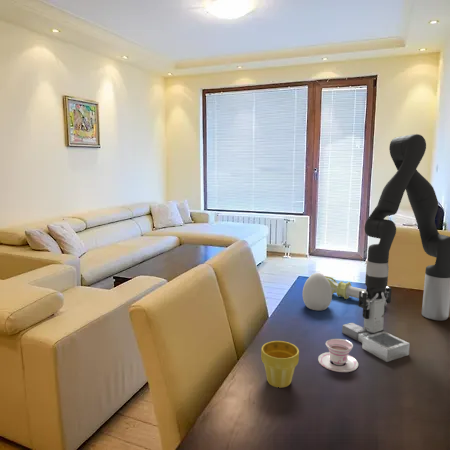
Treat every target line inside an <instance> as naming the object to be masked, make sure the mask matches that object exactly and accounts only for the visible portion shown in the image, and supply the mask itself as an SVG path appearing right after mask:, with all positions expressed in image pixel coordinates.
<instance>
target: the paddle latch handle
mask: <svg viewBox="0 0 450 450" xmlns="http://www.w3.org/2000/svg"><path fill="white" fill-rule="evenodd" d="M341 328H342V329H341V331H342V334H343V335H345V336H347V337H349V338H351V339H353V340H355V341H357V342H360V343H361V344H362V345H361V348H362V350H365V351H366V352H368V353H370V354H371V355H373V356H375V357H377V358H379V359H380V360H382V361H384V362H386V363H388V362H392V361H395V360H397V359H401V358H403V357H407V356H409V354H410V345H411V344H410V342H407V340H406V341H405V340H404V339H401V338H400V337H397V336H395V335H394V334H391V333H390V332H389V333H388V332H387V331H385V330H382V331H378V332H375V333H371V332H369V331H367V329H365V328H364V327H362V326H361V325H359V324H356V323H355V322H349V323H345V324H342V327H341Z"/></svg>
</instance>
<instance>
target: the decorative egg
mask: <svg viewBox="0 0 450 450" xmlns="http://www.w3.org/2000/svg"><path fill="white" fill-rule="evenodd" d="M325 276H326V275H324V274H322V273H321V272H314V273H313V274H310V276H309V277H308V278H307V279H306V281H305V282H304V284H303V288H302V301H303V303H304V305H305V307H307V309H310V310H311V311H326V310H327V309H328V307H330V305H331V303H332V300H333V299H332V298H333V294H332V289H331V285H330V283H329V281H328V279H327V278H326V277H325Z"/></svg>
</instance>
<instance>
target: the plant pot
mask: <svg viewBox="0 0 450 450" xmlns="http://www.w3.org/2000/svg"><path fill="white" fill-rule="evenodd" d="M260 355H261V356H260V359H261V361H262V364H264V365H263V366H264V369H265V370H264V371H265V375H266V380H267V383H268V384H269V385H270V386H272V387H274V388H278V387H279V388H280V389H281V388H287V387H289V386H290V385H291V383H292V381H293V377H294V373H295V370H296V369H295V368H296V367H297V366H298V364H299V361H300V350H299V347H298V346H296V344H293V343H291V342H288V341H286V340H285V341H283V340H272V341H268V342H266V343H264V344H263V345H262V346H261V352H260Z"/></svg>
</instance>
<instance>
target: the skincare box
mask: <svg viewBox="0 0 450 450" xmlns="http://www.w3.org/2000/svg"><path fill="white" fill-rule="evenodd" d="M367 300H369V301H371V299H369V298H367ZM384 304H385V301H383V299H382V298H381V299H376V300H375V301H374V303H373V304H372V305H371V306H370V308H369V309H370V312H369V319H365V318H364V319H363V320H364V321H363V328H365V329H367V332H368V333H370V334H376V333H379V332H382V331H384V318H385V317H384V316H385V315H384ZM367 305H368V303H367V304H366V306H367Z"/></svg>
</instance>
